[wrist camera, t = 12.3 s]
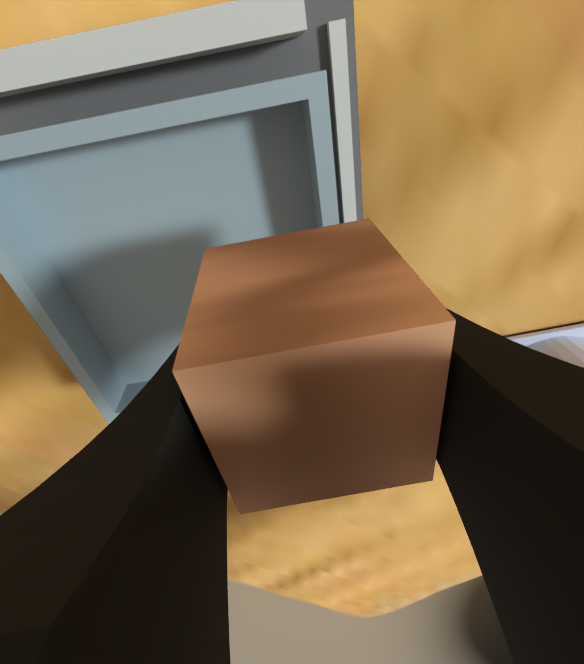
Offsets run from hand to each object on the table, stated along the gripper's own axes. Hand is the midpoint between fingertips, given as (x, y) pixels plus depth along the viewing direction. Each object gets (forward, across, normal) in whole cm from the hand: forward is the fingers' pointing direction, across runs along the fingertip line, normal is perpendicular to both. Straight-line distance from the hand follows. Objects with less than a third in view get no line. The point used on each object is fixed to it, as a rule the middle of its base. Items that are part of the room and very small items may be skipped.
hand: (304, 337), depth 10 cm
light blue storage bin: (+9, +4, 0) cm, 10 cm away
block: (+2, 0, 0) cm, 2 cm away
